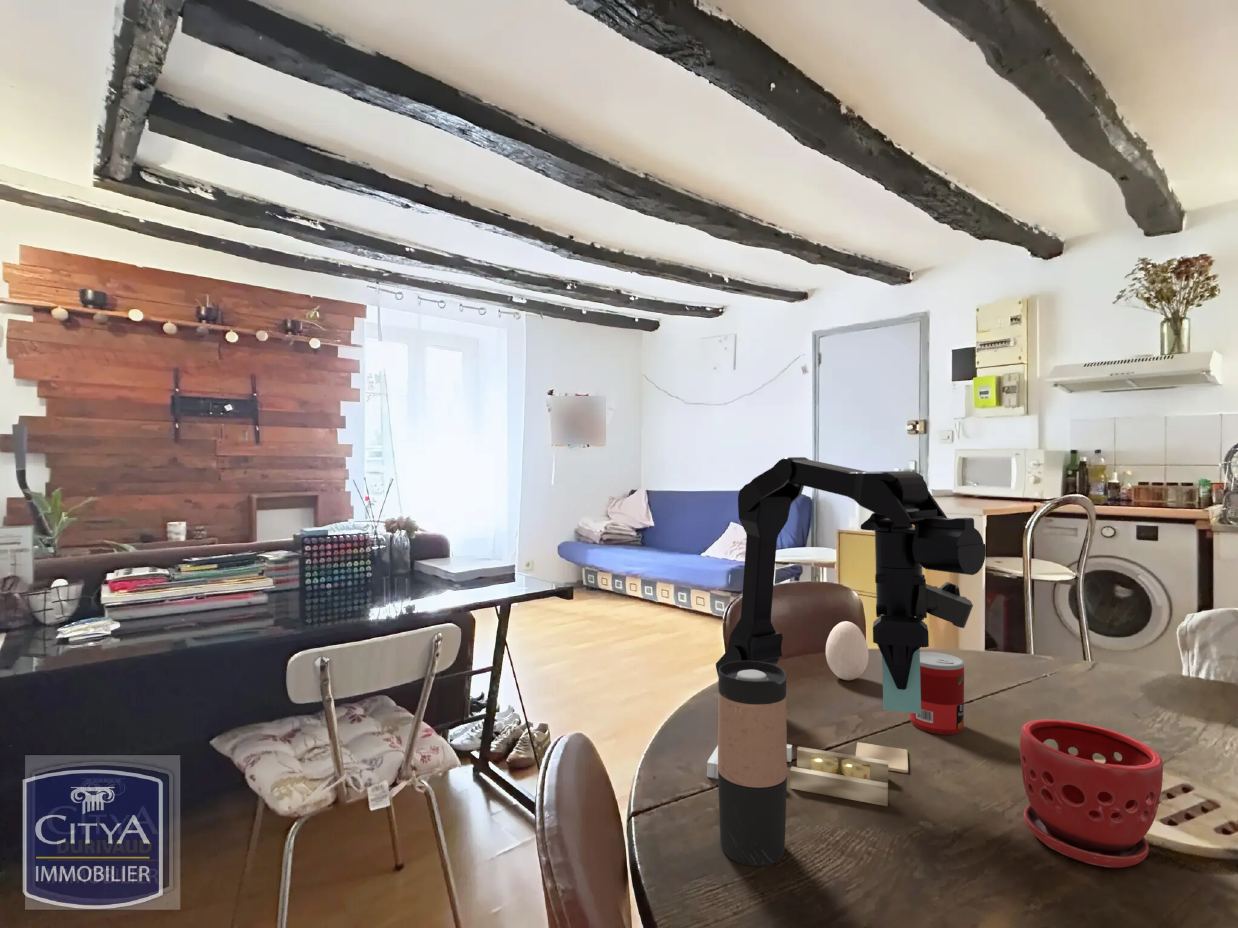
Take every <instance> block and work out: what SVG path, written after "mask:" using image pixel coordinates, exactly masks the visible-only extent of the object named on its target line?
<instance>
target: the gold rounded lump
mask: <svg viewBox="0 0 1238 928" xmlns="http://www.w3.org/2000/svg"><path fill="white" fill-rule="evenodd" d="M810 770H815V771H821V772H827V773H833V774H838V759H837V758H836V757H834V756H832V755H829V754H824V753H818V754H813V755H812V756H811V769H810ZM838 775H839V774H838Z"/></svg>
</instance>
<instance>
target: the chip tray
mask: <svg viewBox="0 0 1238 928" xmlns="http://www.w3.org/2000/svg"><path fill="white" fill-rule="evenodd" d="M792 759H793V745H792V744H790V743H789V744H788V743H787V763H791V762H792ZM706 777H707V778H711V779H716V780H718V744H717V746H716V747H715V749H714V750H713V752H712V754H711V755H710V757H709V758H708V760H707V762H706Z"/></svg>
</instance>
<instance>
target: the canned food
mask: <svg viewBox="0 0 1238 928" xmlns="http://www.w3.org/2000/svg"><path fill="white" fill-rule="evenodd" d="M920 686H921V714H917V713H909V719H910V722H911V724H912V725H913V726H914V727H915V728H917V729H920V730H922V731H925V732H927V733H932V734H937V735H948V736H949V735H955V734H959V733H960V732H962V730H963V728H964V724H965V723H964V722H965V720H964V719H965V664H964V660H963V659H961V658H959V657H957V656H954V655H951V654H948V653H942V652H936V651H920Z"/></svg>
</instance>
